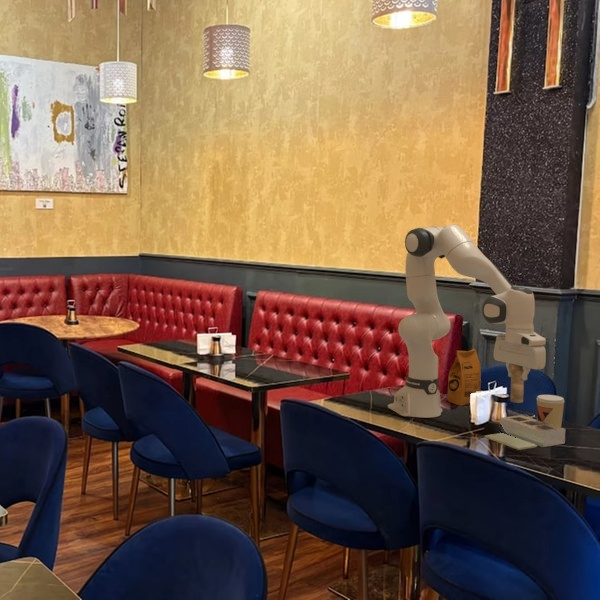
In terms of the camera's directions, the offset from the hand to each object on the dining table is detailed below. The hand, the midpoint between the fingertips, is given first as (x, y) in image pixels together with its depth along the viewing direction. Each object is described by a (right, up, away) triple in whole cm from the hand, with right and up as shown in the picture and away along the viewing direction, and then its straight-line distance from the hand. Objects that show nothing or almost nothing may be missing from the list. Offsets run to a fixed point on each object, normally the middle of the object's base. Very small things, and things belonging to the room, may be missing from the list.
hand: (517, 378), depth 236 cm
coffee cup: (+17, -21, +19) cm, 33 cm away
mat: (-1, -22, +4) cm, 22 cm away
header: (+8, -21, +10) cm, 25 cm away
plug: (0, -8, +1) cm, 8 cm away
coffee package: (-4, -17, +59) cm, 62 cm away
